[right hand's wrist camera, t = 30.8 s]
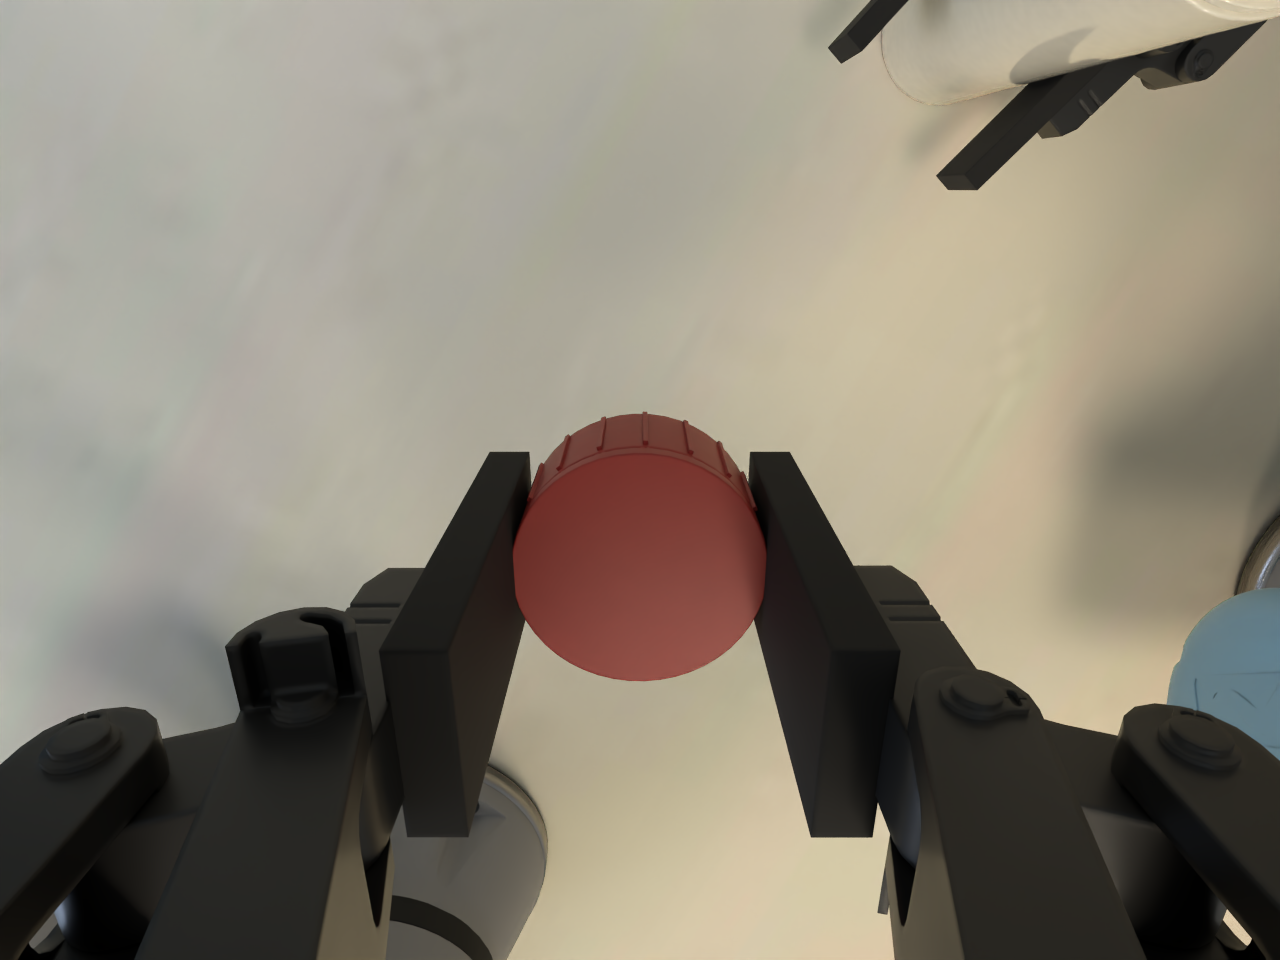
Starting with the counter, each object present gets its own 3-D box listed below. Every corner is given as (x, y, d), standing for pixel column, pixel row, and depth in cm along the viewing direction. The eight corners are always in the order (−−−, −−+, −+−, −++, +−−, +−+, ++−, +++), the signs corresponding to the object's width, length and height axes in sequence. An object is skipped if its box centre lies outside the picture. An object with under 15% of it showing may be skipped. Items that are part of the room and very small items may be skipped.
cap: (799, 511, 14) (826, 566, 12) (644, 653, 16) (645, 725, 14) (633, 361, 13) (632, 394, 11) (480, 525, 15) (453, 583, 13)
